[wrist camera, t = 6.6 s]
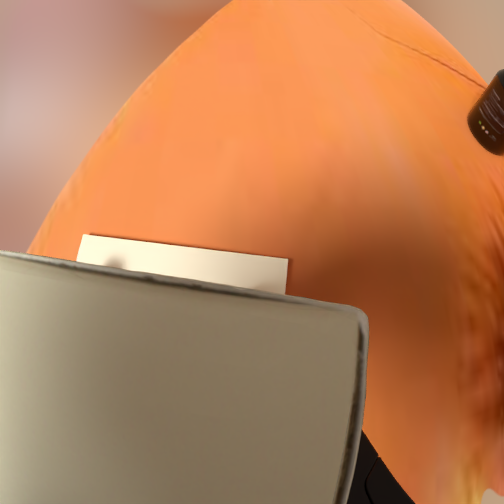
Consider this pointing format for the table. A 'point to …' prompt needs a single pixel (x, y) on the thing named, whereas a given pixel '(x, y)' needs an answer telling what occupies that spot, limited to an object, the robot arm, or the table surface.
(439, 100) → the table surface
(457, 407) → the table surface
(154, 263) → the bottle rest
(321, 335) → the skincare box
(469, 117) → the supplement bottle
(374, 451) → the robot arm
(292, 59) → the table surface
